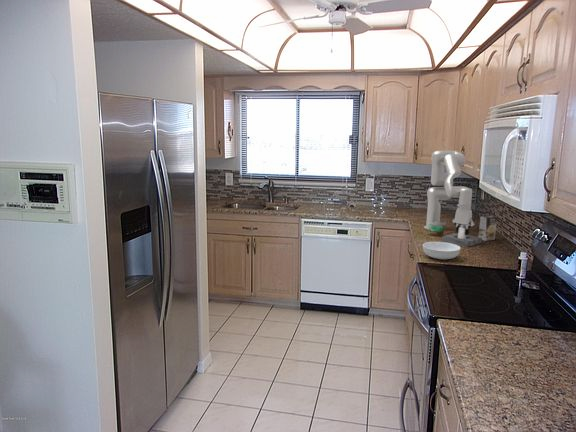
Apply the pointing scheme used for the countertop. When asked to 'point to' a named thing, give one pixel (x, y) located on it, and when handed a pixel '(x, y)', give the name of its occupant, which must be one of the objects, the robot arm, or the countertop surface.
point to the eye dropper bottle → (461, 232)
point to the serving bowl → (441, 250)
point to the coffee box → (487, 227)
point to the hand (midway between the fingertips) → (462, 233)
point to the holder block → (461, 240)
